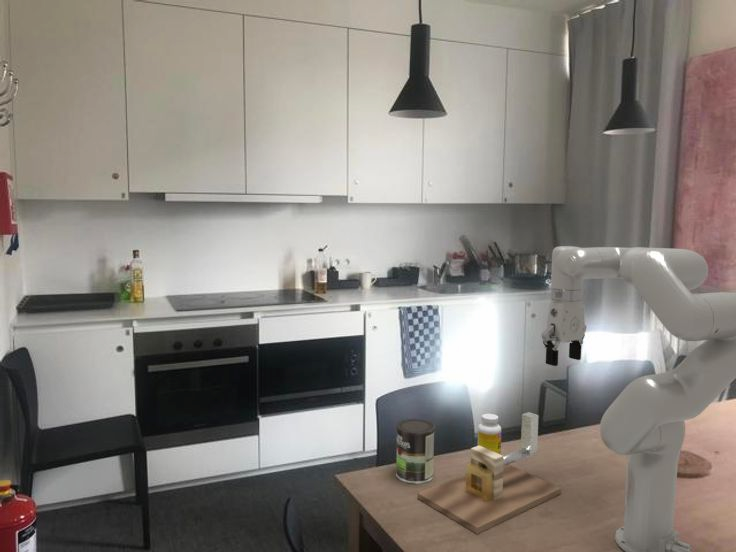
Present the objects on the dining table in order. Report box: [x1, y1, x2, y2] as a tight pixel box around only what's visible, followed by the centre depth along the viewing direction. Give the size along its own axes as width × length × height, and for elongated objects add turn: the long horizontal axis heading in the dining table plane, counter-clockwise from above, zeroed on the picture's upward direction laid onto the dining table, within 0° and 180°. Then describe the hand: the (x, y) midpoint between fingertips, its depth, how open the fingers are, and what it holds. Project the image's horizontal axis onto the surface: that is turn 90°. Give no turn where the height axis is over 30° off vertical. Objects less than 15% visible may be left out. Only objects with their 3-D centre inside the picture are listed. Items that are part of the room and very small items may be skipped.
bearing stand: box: [416, 445, 562, 535], centre depth 148 cm, size 20×31×12 cm, turn 127°
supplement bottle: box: [477, 413, 502, 455], centre depth 169 cm, size 7×7×13 cm
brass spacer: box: [465, 461, 493, 502], centre depth 145 cm, size 7×2×7 cm, turn 37°
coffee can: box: [395, 418, 436, 485], centre depth 159 cm, size 10×10×14 cm
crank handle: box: [483, 411, 539, 469], centre depth 152 cm, size 18×3×11 cm, turn 127°
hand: (563, 361), depth 150 cm, fingers open, 9 cm apart
